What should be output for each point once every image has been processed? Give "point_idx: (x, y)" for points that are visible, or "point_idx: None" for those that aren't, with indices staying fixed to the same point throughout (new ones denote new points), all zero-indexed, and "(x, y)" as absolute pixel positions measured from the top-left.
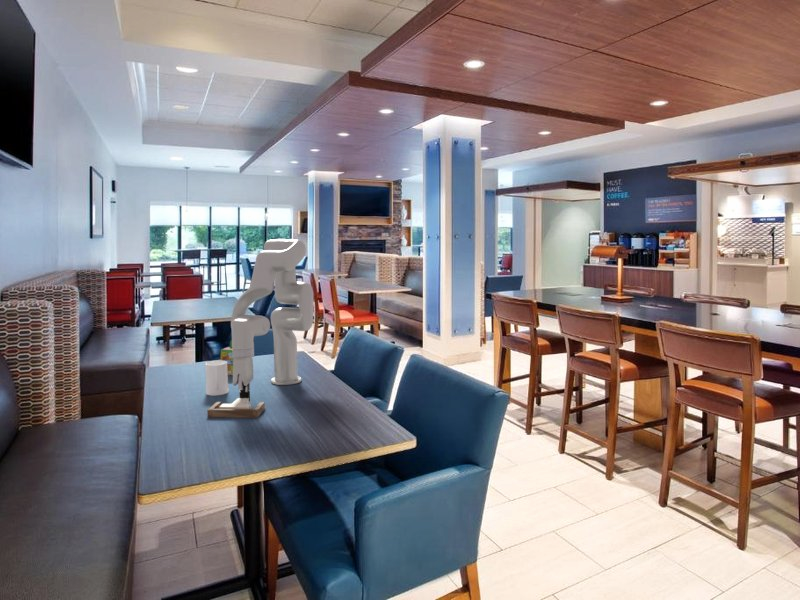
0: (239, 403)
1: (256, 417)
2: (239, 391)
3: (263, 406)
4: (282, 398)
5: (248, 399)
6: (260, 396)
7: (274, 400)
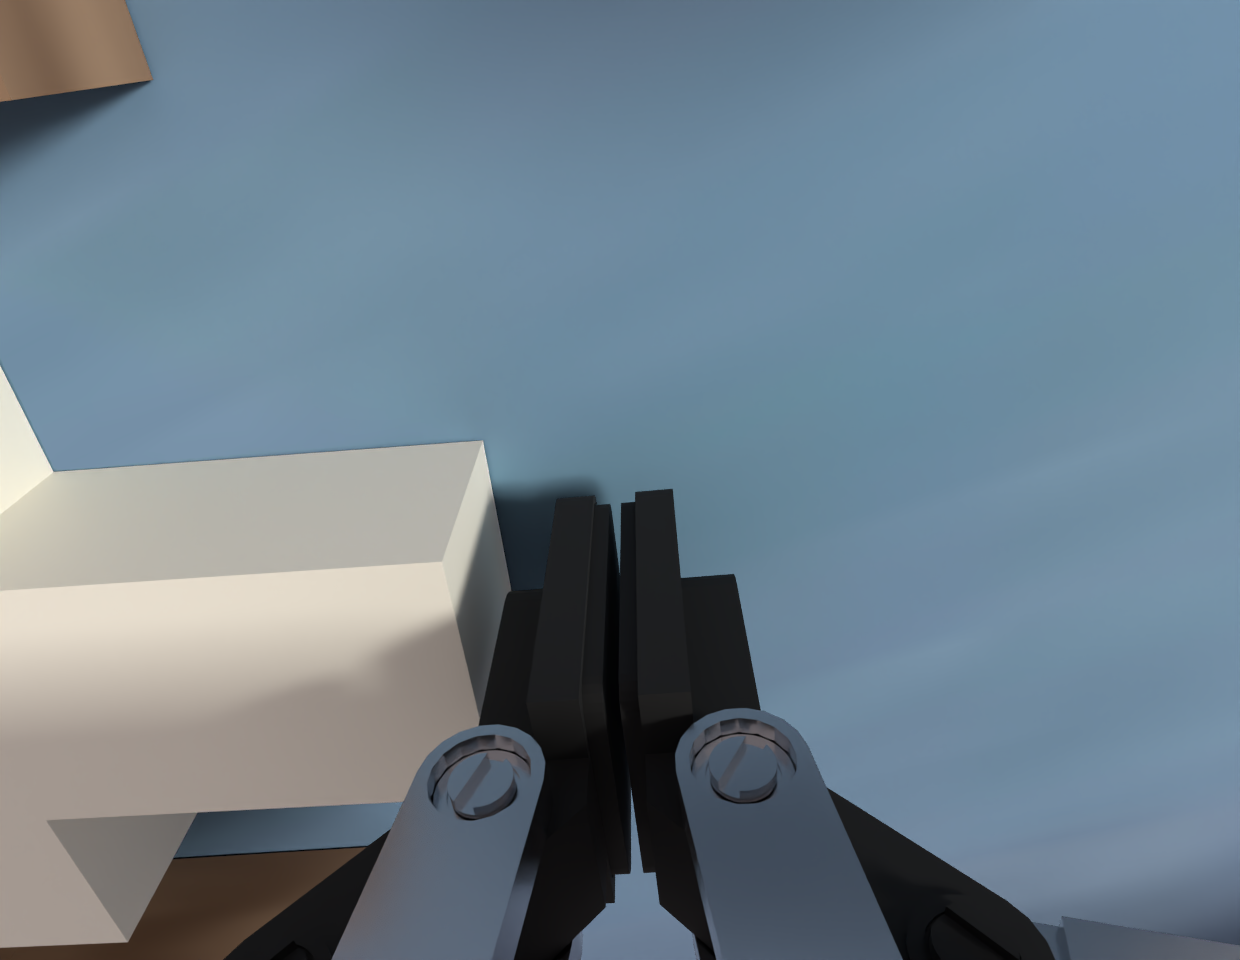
0: (34, 753)
1: None
2: (414, 777)
3: None
4: None
5: None
6: (1237, 631)
7: None
